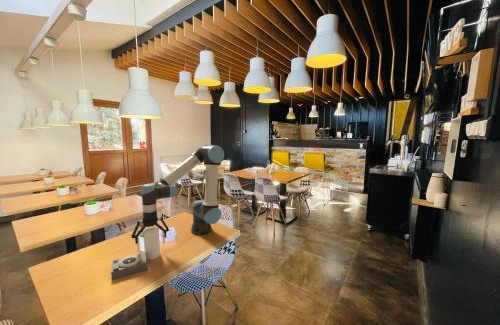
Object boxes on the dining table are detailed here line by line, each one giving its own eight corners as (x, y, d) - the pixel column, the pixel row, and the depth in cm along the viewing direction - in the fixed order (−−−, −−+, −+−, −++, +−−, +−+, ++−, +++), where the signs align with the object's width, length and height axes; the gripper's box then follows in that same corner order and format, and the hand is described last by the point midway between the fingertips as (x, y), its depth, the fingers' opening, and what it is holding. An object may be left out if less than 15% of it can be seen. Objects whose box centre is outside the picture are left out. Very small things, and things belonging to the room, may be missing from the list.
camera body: (145, 259, 126) (145, 250, 125) (147, 269, 115) (146, 260, 115) (113, 267, 118) (112, 258, 117) (111, 279, 107) (111, 270, 107)
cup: (154, 260, 125) (152, 233, 123) (141, 258, 126) (140, 232, 125) (162, 252, 133) (161, 227, 131) (151, 251, 134) (149, 226, 133)
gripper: (171, 205, 136) (172, 238, 138) (125, 212, 124) (127, 248, 126) (173, 209, 129) (174, 243, 131) (125, 216, 117) (127, 253, 119)
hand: (151, 245), depth 129 cm, fingers open, 13 cm apart
